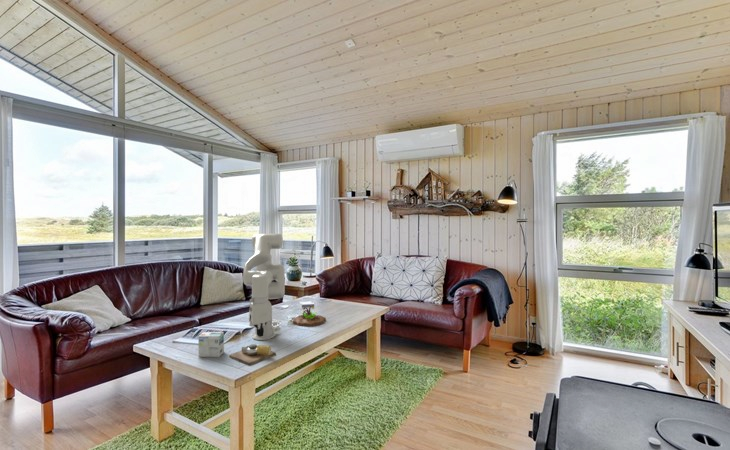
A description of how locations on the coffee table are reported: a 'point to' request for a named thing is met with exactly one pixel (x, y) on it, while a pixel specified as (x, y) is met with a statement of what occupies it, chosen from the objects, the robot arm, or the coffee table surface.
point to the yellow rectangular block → (257, 350)
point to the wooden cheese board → (250, 356)
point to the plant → (309, 319)
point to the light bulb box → (211, 344)
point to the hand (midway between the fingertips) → (260, 335)
